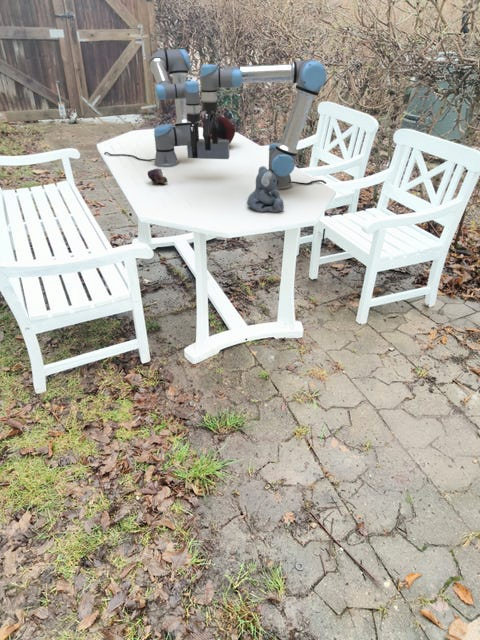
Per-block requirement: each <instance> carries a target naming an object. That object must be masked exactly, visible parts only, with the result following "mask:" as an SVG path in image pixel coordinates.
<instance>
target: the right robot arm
mask: <svg viewBox="0 0 480 640" xmlns="http://www.w3.org/2000/svg"><path fill="white" fill-rule="evenodd" d="M327 75H328V74H327V71H326V68H325V66H324V65H323V63H322V62H320V61H317V60H316V59H312V58H307V59H303V60H295V61H291V62H290V63H282V64H281V63H280V64H262V65H261V64H256V65H240V66H239V65H237V66H232V65H227V66H225V67H224V68H223V69H218V67H217V65H216V64H202V65H201V67H200V87H201V101H202V102H201V108H202V110H203V111H204V112H205V114H204V115H203V121H204V129H203V128H202V137H203V138H204V137H205V150H211V142H210V129H211V126H212V129H213V130H212V143H213V144H218V133H217V130H219V128H218V127H219V126H218V121H217V117H218V115H217V110H218V109H219V107H218V106H219V105H218V103H219V101H218V96H219V93H218V88H234V89H235V88H241V87H242V86H243V84H254V83H255V84H256V83H258V84H259V83H280V82H281V83H283V82H290V83H291V84H295V88H294V89H295V91H296V95H295V98H294V100H293V104H292V107H291V110H290V113H289V115H288V118H287V122H286V125H285V127H284V131H283V134H282V137H281V140H280V142H273V143H270V144H269V145H268V146H269V147H268V169H269V170H271V171H272V173H273V174H274V176H275V177H276V179H277V180H278V181H279V184H278V185H277V186H276V187H275V190H276V189H277V190H278V191H279V190H280V191H281V190H287V189H290V188H291V187H292V186H293V184H295V185H304V186H305V185H311V184H314V183H320V182H321V183H323V184H325V185H326V184H327V182H326V181H325V180H324V179H315V180H311V181H309V182H299V181H293V180H292V177H291V174H292V173H293V172H294V170H295V165H296V158H297V155H298V153H299V151H298V149H297V146H298V144H299V142H300V138H301V135H302V134H303V133H302V132H303V131H304V130H303V129H304V127H305V125H306V122H307V118H308V115H309V113H310V111H311V108H312V105H313V102H314V100H315V99H316V98H317V97H319V94H320V91H321V89H322V88H323V87H324V85H325V84H326V81H327ZM325 234H326V228H323V231H322V241H321V244H322V245H324V244H325V236H326V235H325Z"/></svg>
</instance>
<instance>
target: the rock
mask: <svg viewBox="0 0 480 640" xmlns="http://www.w3.org/2000/svg"><path fill="white" fill-rule="evenodd" d="M147 176H148V179H149V180H150V181H151V183H153V184H156V185H157V184H166V183H168V178H167V177H166V176H164V175H163V171H162V169H161V168H153V169H151V170H148V171H147Z"/></svg>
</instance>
